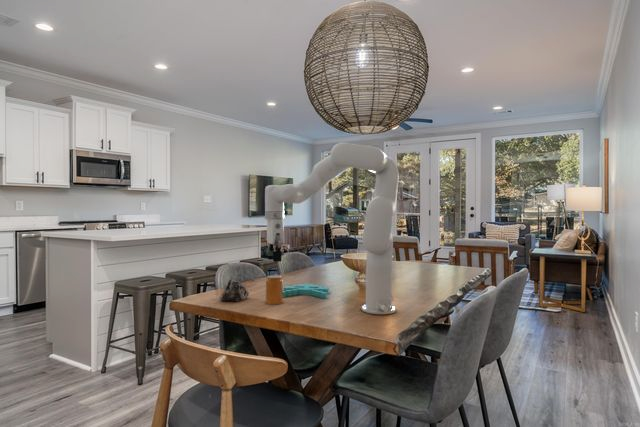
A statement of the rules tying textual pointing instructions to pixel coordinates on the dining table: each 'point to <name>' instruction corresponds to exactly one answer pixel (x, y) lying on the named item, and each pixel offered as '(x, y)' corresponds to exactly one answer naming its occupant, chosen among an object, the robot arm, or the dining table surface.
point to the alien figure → (306, 290)
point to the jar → (274, 289)
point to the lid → (270, 252)
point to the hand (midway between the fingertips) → (274, 260)
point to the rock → (234, 291)
